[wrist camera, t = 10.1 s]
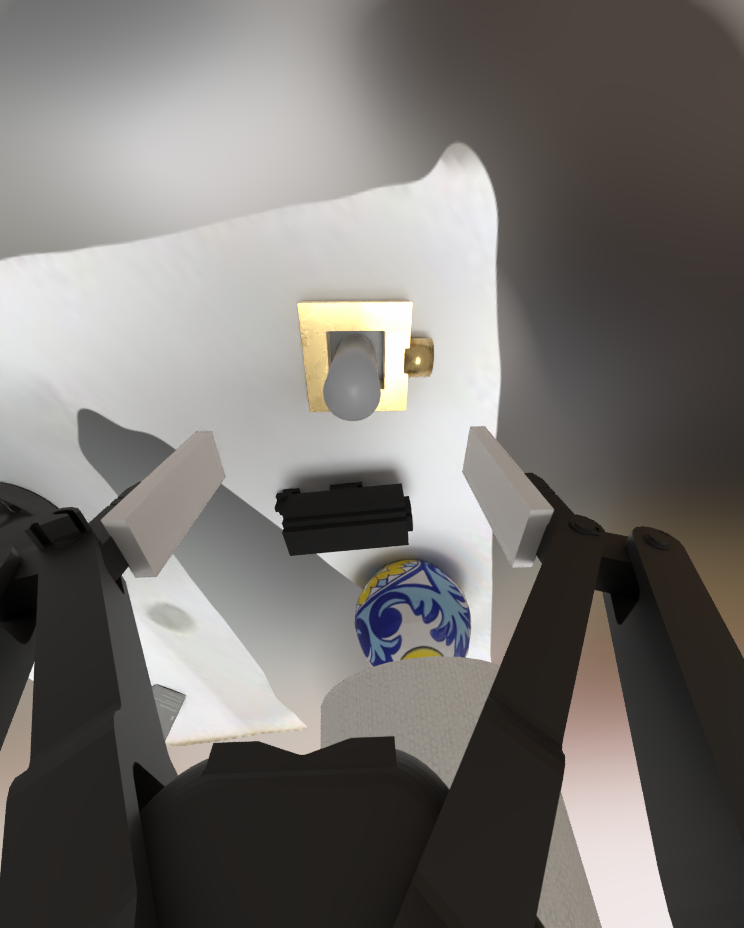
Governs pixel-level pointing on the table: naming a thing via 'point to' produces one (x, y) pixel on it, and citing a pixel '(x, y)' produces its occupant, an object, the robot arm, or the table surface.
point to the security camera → (344, 518)
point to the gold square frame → (364, 315)
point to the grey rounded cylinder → (353, 380)
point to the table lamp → (437, 703)
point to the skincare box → (167, 706)
